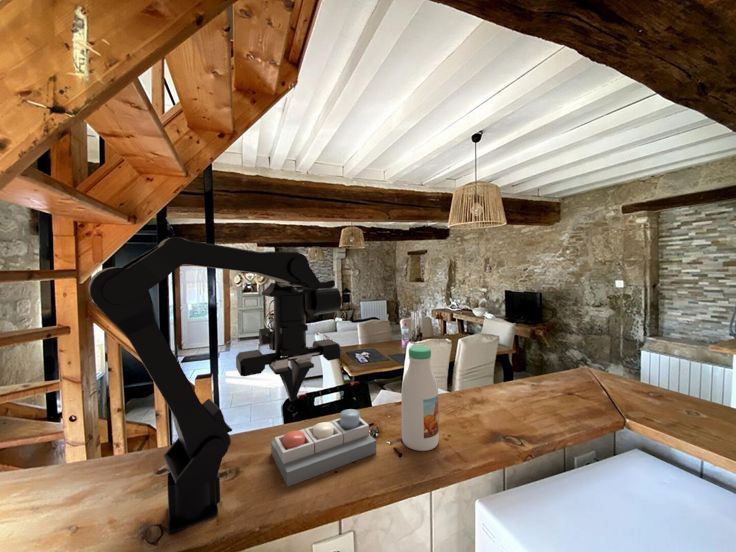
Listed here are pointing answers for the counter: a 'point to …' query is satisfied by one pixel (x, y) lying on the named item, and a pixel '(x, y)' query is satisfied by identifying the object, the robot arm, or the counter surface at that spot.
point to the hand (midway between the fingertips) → (292, 400)
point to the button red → (293, 439)
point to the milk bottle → (420, 402)
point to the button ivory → (322, 430)
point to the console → (322, 452)
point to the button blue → (349, 419)
